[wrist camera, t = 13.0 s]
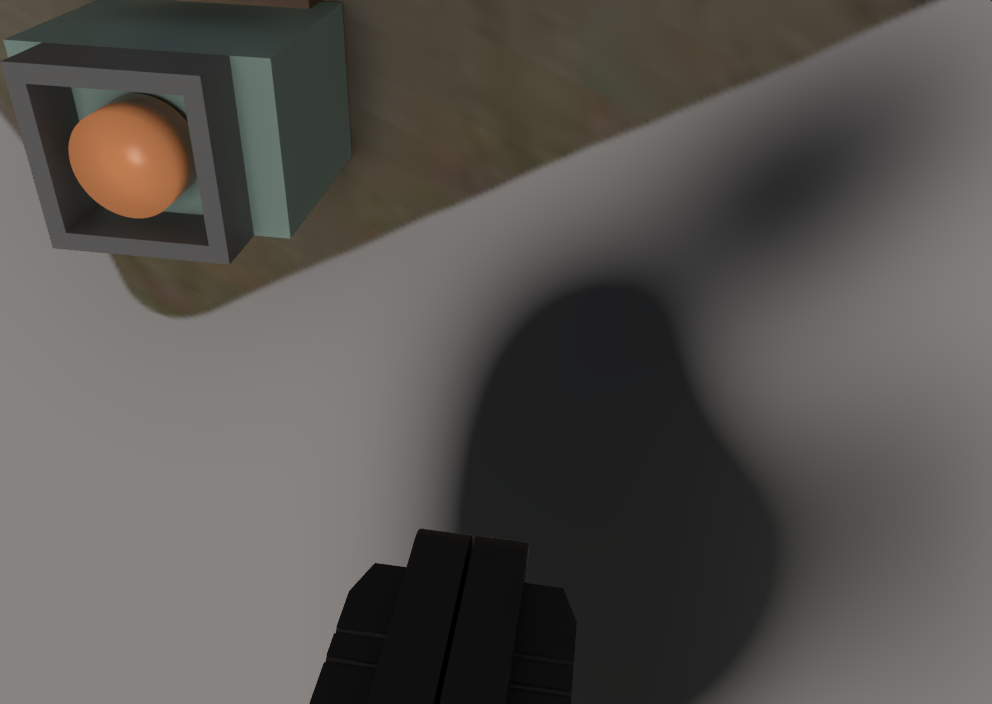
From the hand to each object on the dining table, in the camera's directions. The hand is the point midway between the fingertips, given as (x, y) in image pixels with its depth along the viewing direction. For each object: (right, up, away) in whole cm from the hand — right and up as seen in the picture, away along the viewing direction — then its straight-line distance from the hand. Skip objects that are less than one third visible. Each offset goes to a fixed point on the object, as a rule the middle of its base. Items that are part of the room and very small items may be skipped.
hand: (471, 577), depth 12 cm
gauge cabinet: (-11, +16, +28) cm, 35 cm away
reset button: (-13, +11, +21) cm, 27 cm away
